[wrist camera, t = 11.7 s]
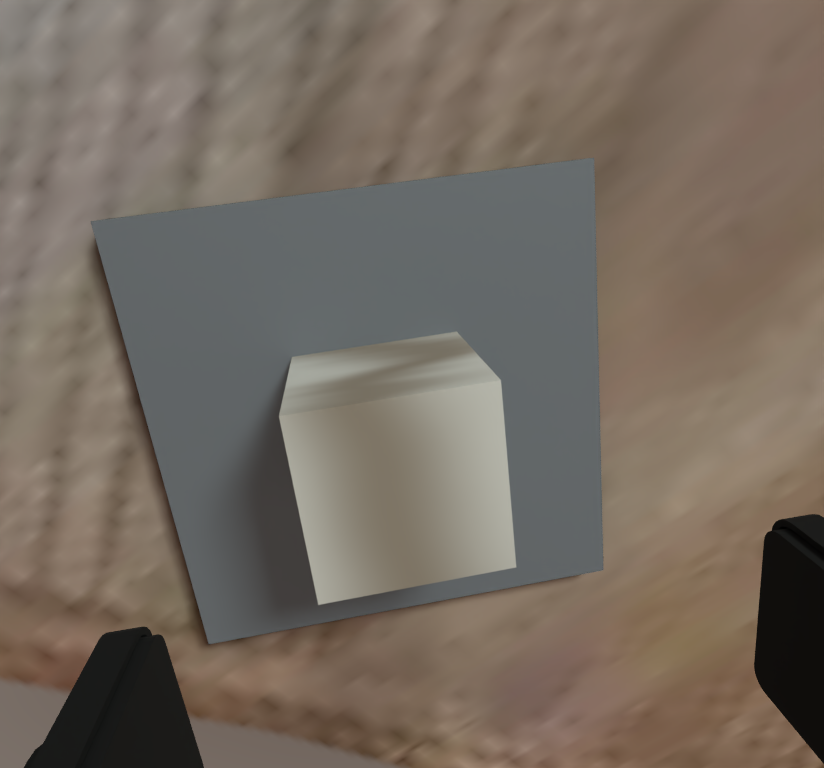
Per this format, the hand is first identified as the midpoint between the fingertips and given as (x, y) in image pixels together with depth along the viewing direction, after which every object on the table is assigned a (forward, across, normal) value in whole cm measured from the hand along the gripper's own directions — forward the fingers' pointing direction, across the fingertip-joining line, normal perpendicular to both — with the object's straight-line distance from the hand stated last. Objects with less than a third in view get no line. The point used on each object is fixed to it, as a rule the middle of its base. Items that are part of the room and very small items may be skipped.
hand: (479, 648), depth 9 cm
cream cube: (+10, +1, 0) cm, 10 cm away
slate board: (+11, +1, 0) cm, 11 cm away
